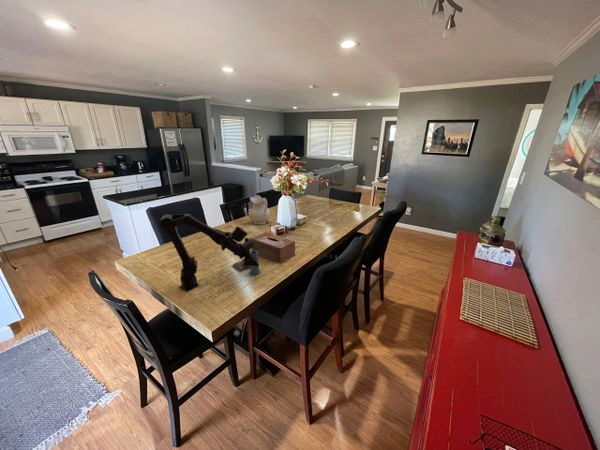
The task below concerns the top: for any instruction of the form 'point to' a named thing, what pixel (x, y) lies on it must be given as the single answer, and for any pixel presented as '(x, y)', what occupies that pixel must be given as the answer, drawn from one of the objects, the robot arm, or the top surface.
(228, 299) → the top surface
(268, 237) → the tissue box cover
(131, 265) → the top surface
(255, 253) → the blue sleeve
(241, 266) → the brown plate with knob
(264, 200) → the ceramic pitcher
